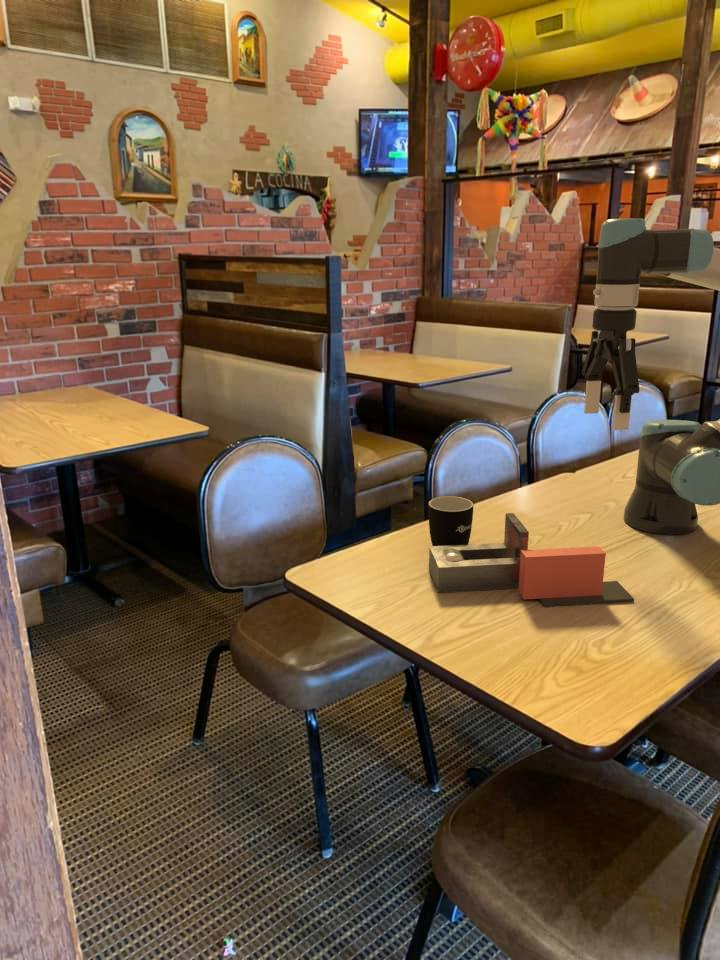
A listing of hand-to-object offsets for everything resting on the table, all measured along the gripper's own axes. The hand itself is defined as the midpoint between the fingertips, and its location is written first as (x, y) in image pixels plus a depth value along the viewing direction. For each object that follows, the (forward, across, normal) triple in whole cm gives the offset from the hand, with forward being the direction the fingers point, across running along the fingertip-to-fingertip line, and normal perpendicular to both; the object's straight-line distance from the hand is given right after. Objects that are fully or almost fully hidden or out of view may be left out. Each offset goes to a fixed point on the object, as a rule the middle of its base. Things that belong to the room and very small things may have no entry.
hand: (605, 421), depth 139 cm
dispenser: (+27, +11, -26) cm, 39 cm away
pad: (+27, +19, -10) cm, 34 cm away
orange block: (+26, +19, -14) cm, 35 cm away
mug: (+27, -4, -28) cm, 39 cm away
